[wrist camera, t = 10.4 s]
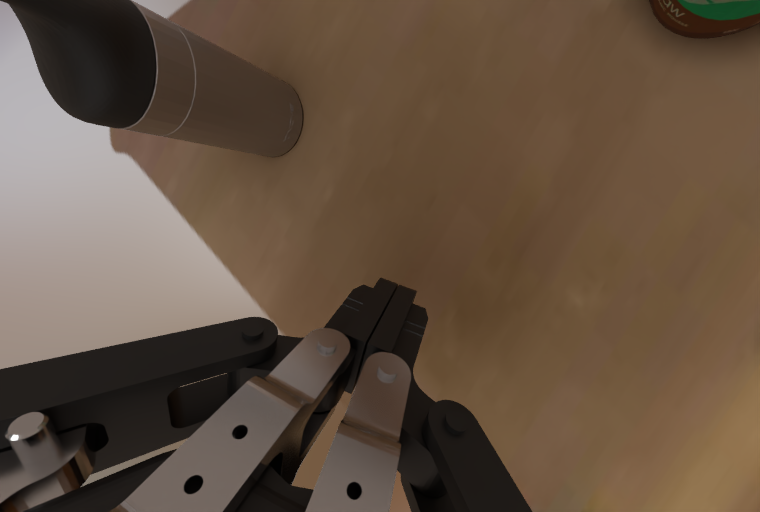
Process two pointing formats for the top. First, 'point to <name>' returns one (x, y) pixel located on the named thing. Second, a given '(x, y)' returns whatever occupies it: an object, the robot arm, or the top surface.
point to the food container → (706, 16)
